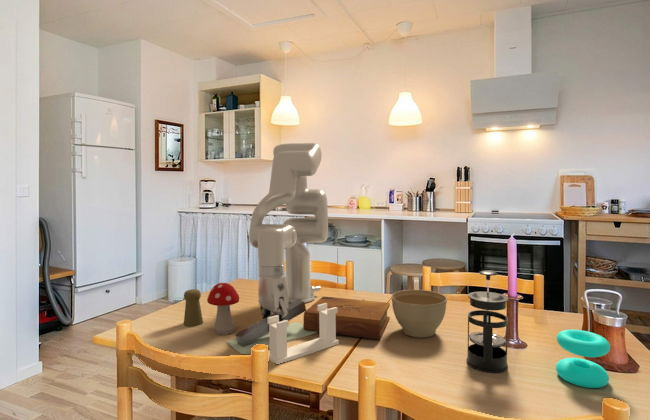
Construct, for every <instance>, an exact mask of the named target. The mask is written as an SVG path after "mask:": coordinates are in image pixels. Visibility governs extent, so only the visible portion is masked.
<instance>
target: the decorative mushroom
mask: <svg viewBox="0 0 650 420" xmlns="http://www.w3.org/2000/svg"><path fill="white" fill-rule="evenodd" d="M206 301H207V303H208V304H209V305H212V306H217V308H216V309H217V310H216V317H215V323H214V325H213V330H214V332H215V333H216V334H217V335H231V334H233V333H235V329H236V326H235V323H234V321H233V316H232V311H231V306H232V305H235V304H237V303H240V295H239V294H238V292H237V291H236V289H235V287H234V286H233V285H232V284H231V283H227V282H219V283H217V284H215V285H214V286H212V287H211V289H210V292H209V294H208V296H207V300H206ZM215 333H214V334H215Z"/></svg>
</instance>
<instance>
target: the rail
mask: <svg viewBox="0 0 650 420" xmlns="http://www.w3.org/2000/svg"><path fill="white" fill-rule="evenodd" d="M306 310H307V307H306V304H305V303H304V301H301V300H299V299H298V300H297V301H295V302H293V303H289V308H288V310H287V311H288V314H287V315H286V316H285V318H284V320H288V322H289V321H291V320H292V319H294V318H296V317H297V316H299V315H301V314H304V312H305V311H306ZM279 314H280V313H277V315H279ZM272 316H273V313H271V314H270V315H269V316H267V317H266V318H264V319H263V318H261V319H260V320H258V321H256V322H255V323H253V324H251V325H249V326H248V327H246V328H244V329H242V330H240V331H238V332H236V333H235V334H234V335H235V339H237V342H238V344H239V345H240V346H242V347H244V346H246V345H248V344H249V343H251V342H253V341H254V340H256V339H258V338H260V337H261V336H263V335H265V334H267V333H268V332H269V324H268V323H267V318H268V317H272Z"/></svg>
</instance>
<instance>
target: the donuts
mask: <svg viewBox="0 0 650 420" xmlns="http://www.w3.org/2000/svg"><path fill="white" fill-rule="evenodd" d="M556 341H557V344H558V345H559V346H560V347H561V349H563V350H565V351H566V352H569V353H570V354H573V355H577V356H580V357H586V358H600V357H604V356H605V355H607V354H608V353H610V350H611V345H610V343H609V341H608V340H607V339H606V338H605V337H603V335H600V334H597V333H596V332H595V333H594V332H591V331H587V330H584V329H583V330H581V329H574V328H573V329H565V330H561V331H559V332H558V334H557V335H556ZM580 357H565V358H562V359H560V360H559V361H557V363H556V365H555V371H556V373H557V374H558V376H560V378H561V379H563V380H564V381H566V382H568V383H570V384H572V385H575V386H578V387H581V388H582V387H583V388H586V389H588V388H589V389H599V388H603V387H605V386H606V385H608V383H609V382H610V376H609V374H608V372H607V371H606V369H605V368H604V367H603V366H601V365H600V364H598V363H596V362H594V361H591V360H588V359H586V358H580Z"/></svg>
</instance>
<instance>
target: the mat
mask: <svg viewBox="0 0 650 420" xmlns="http://www.w3.org/2000/svg"><path fill="white" fill-rule="evenodd" d="M317 333H318V332H316V331H308V330H304V323H301V322H299V321H296V322H293V323H289V327H287V343H288V342H291V341H294V340H297V339H301V338H305V337H308V336H311V335H315V334H317ZM226 343H227V345H229V346H230V347H232V348H233V349H234V350H236V351H237V352H238V353H240V354H241V355H242V354H246V355H248V354H251V348H252V347H253V346H254V345H256V344H265V345H268V348H270V339H269V332H268V333H267V334H265V335H263V336H261V337H260V338H258V339H256V340H254V341H253V342H251V343H249V344H248V345H246V346H244V347H242V346H240V345H239V344H238V342H237V339H236V338H233V339H230V340H227V342H226Z"/></svg>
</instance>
